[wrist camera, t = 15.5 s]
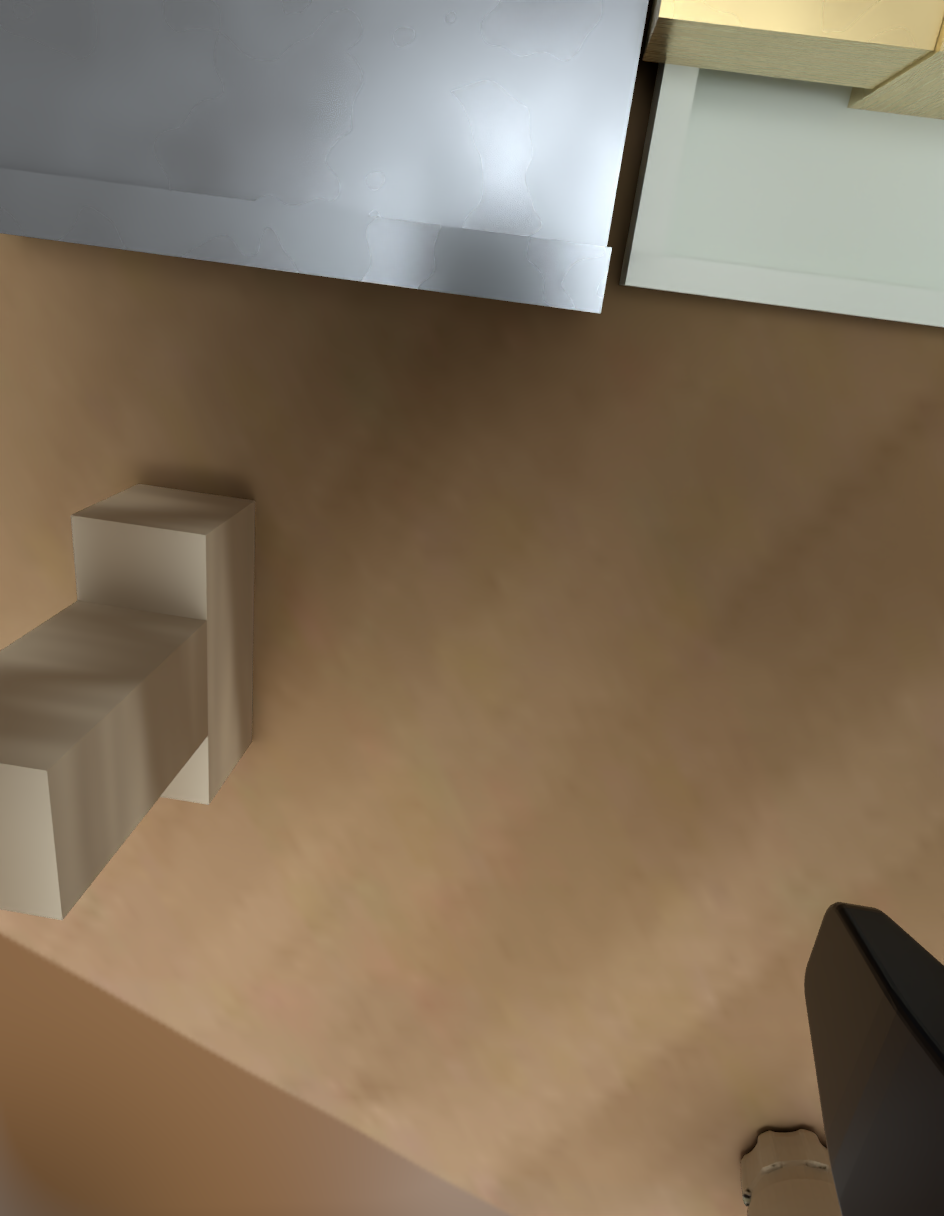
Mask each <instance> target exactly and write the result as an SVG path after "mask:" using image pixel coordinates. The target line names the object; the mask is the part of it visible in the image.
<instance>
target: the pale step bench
mask: <svg viewBox="0 0 944 1216" xmlns="http://www.w3.org/2000/svg"><path fill="white" fill-rule="evenodd" d="M71 524H72V537H73V550H74V562H75V575H76V588H77V601H76V602H75V603H73V604H72V605H70V606H69V607H67V608H65V609H64V610H62V611H61V612H59V613H58V614H56V615H55V616H53V617H52V618H50V619H49V620H47V621H45V622H44V623H42V624H41V625H39V626H38V627H36V628H35V629H33V630H32V631H30V632H29V633H27V634H25V635H24V636H22V637H21V638H19V639H18V640H16V641H15V642H13V643H12V644H10V645H9V646H7V647H6V648H4V649H2V650H1V651H0V909H1V910H7V911H12V912H18V913H24V914H30V915H35V916H41V917H47V918H52V919H58V920H63V919H64V918H65V916H66V915H67V914H68V913H69V911H70V910H71V909H72V907H73V906H74V905H75V904H76V902H77V901H78V900H79V899H80V897H81V896H82V895H83V894H84V892H85V891H86V890H87V888H88V887H89V886H90V885H91V883H92V882H93V881H94V880H95V878H96V877H97V876H98V875H99V873H100V872H101V871H102V869H103V868H104V867H105V866H106V864H107V863H108V862H109V861H110V859H111V858H112V857H113V855H114V854H115V853H116V852H117V850H118V849H119V848H120V847H121V845H122V844H123V843H124V842H125V840H126V839H127V838H128V836H129V835H130V834H131V833H132V831H133V830H134V829H135V828H136V826H137V825H138V824H139V823H140V821H141V820H142V819H143V817H144V816H145V815H146V814H147V812H148V811H149V810H150V809H151V807H152V806H153V805H154V803H155V802H156V801H157V800H158V798H159V797H165V798H171V799H177V800H183V801H189V802H195V803H201V804H207V805H209V804H210V802H211V801H212V800H213V798H214V797H215V795H216V794H217V792H218V791H219V789H220V788H221V786H222V785H223V783H224V782H225V780H226V779H227V778H228V776H229V775H230V773H231V772H232V770H233V769H234V767H235V766H236V764H237V763H238V761H239V760H240V758H241V757H242V756H243V754H244V753H245V751H246V750H247V748H248V747H249V745H250V744H251V742H252V711H253V635H254V559H255V500H248V499H241V498H234V497H227V496H220V495H213V494H206V493H199V492H192V491H186V490H179V489H172V488H165V487H158V486H151V485H144V484H137V485H135V486H132V487H130V488H128V489H126V490H124V491H122V492H120V493H117V494H115V495H113V496H111V497H109V498H107V499H105V500H102V501H100V502H98V503H96V504H94V505H92V506H90V507H88V508H85V509H83V510H81V511H79V512H77V513H75V514H73V515H71Z"/></svg>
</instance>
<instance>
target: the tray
mask: <svg viewBox="0 0 944 1216" xmlns="http://www.w3.org/2000/svg"><path fill="white" fill-rule="evenodd" d="M851 91H852V87H850V86H842V85H834V84H826V83H818V82H810V81H802V80H794V79H786V78H778V77H770V76H761V75H753V74H745V73H737V72H729V71H721V70H713V69H705V68H697V67H689V66H681V65H673V64H665V63H659V64H658V70H657V76H656V81H655V87H654V92H653V98H652V104H651V109H650V115H649V120H648V126H647V131H646V137H645V143H644V148H643V154H642V159H641V165H640V171H639V176H638V182H637V187H636V193H635V199H634V204H633V210H632V215H631V221H630V226H629V232H628V238H627V243H626V249H625V254H624V260H623V266H622V271H621V277H620V282H619V285H624V286H631V287H639V288H646V289H654V290H661V291H669V292H677V293H684V294H692V295H699V296H707V297H714V298H722V299H730V300H737V301H745V302H752V303H760V304H767V305H775V306H783V307H790V308H798V309H805V310H813V311H820V312H828V313H836V314H843V315H851V316H858V317H866V318H874V319H881V320H889V321H896V322H904V323H911V324H919V325H927V326H934V327H942V328H944V120H942V119H934V118H926V117H918V116H910V115H902V114H894V113H885V112H877V111H869V110H861V109H853V108H847V106H848V103H849V99H850V95H851Z"/></svg>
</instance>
